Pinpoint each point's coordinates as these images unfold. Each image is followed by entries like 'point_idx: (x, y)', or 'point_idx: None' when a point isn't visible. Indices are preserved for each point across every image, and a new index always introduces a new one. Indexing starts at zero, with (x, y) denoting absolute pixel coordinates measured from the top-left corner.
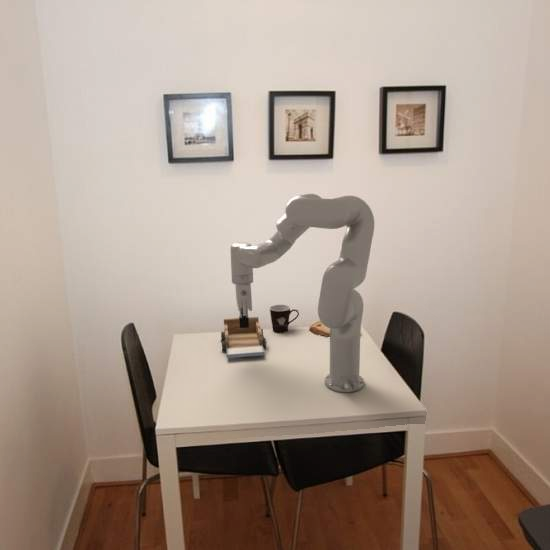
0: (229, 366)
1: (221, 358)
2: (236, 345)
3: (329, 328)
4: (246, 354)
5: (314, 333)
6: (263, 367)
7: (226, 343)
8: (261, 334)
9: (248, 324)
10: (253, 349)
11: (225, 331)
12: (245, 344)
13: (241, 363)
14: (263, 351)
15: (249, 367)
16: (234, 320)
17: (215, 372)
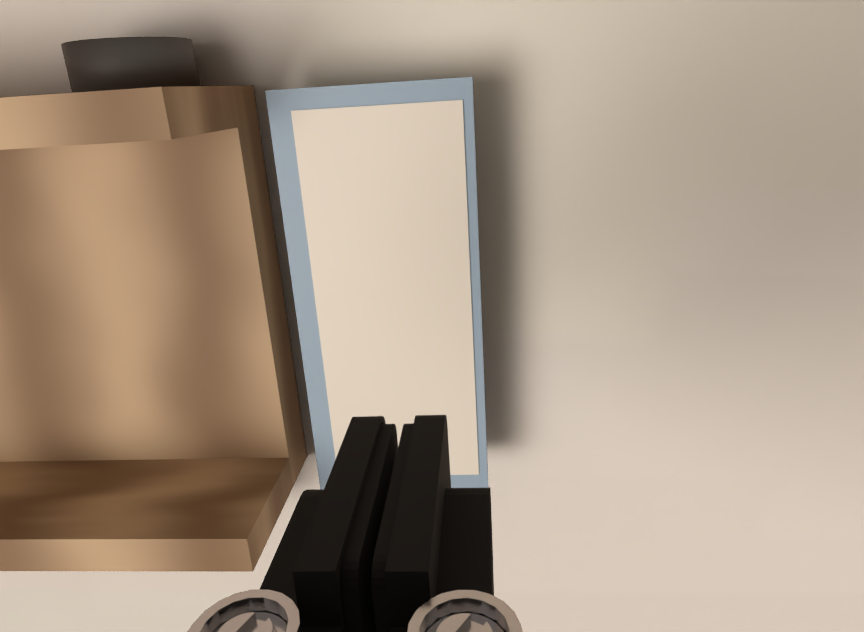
0: (597, 434)
1: None
2: (218, 386)
3: None
4: (479, 295)
5: None
6: (704, 105)
7: (276, 512)
8: (156, 103)
9: (439, 447)
10: (384, 214)
11: (64, 563)
12: (192, 293)
13: (553, 328)
14: (453, 89)
15: (665, 255)
16: None
17: (692, 542)
